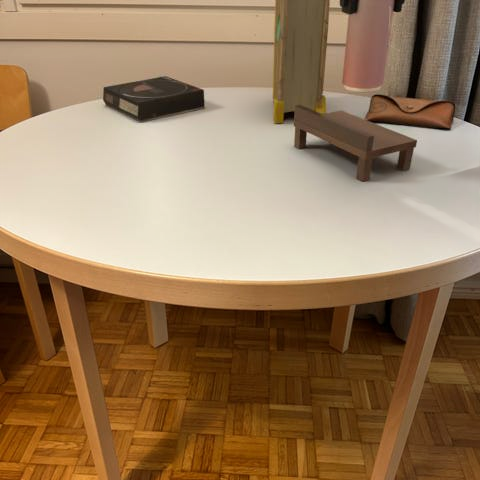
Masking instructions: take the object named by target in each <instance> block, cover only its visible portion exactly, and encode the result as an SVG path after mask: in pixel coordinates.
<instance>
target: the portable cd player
mask: <svg viewBox="0 0 480 480" xmlns="http://www.w3.org/2000/svg"><path fill="white" fill-rule="evenodd" d="M102 101H103V102H104V104H105V106H107V107H109V108H111V109H112V110H115V111H117V112H119V113H120V114H123V115H125V116H127V117H129V118H131V119H133V120H135V121H137V122H138V123H145V122H149V120H150V121H154V120H158V119H159V120H160V119H163V118H168V117H172V116H177V115H181V114H185V113H186V114H187V113H190V112H195V111H199V110H203V109H206V107H205V106H206V105H205V104H206V103H205V90H204V88H200V87H197V86H195V85H192V84H188V83H186V82H183V81H180V80H178V79H175V78H172V77H170V76H166V75H164V76H158V77H154V78H153V77H152V78H147V79H142V80H136V81H131V82H125V83H119V84H114V85H113V84H112V85H108V86H103V94H102Z"/></svg>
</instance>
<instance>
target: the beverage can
mask: <svg viewBox="0 0 480 480" xmlns="http://www.w3.org/2000/svg"><path fill="white" fill-rule="evenodd" d="M394 4H395V0H356V3H355V12H354V13H353V14H351V15H348V17H347V28H346V39H345V50H344V59H343V70H342V78H341V79H342V80H341V84H342V85H343V88H344V90H347V91H349V92H354V93H373V92H377V91H379V90H380V89H381V88H382V87H383V85H384V82H385V76H386V75H385V74H386V66H387V61H388V54H389V53H388V52H389V46H390V38H391V31H392V24H393V18H394Z"/></svg>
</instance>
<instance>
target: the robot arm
mask: <svg viewBox="0 0 480 480" xmlns="http://www.w3.org/2000/svg"><path fill="white" fill-rule="evenodd" d="M405 2H406V0H395V4H394V11H393V13H401V12H402V8H403V5H404V4H405ZM355 3H356V0H339V6H340V7H341V13H344V14H345V15H348V16H349V15H351V14H353V13H354V12H355Z"/></svg>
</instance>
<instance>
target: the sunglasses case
mask: <svg viewBox="0 0 480 480" xmlns="http://www.w3.org/2000/svg"><path fill="white" fill-rule="evenodd" d="M455 112H456V104H455V102H453V101H450V100H432V99H423V98H412V97H400V96H390V95H387V94H379V93H376V94H373V95H372V96H371V97H370V101H369V106H368V111H367V113H366V115H365V117H364V118H363V119H364V120H367V121H370V122H378V123H387V124H394V125H403V126H409V127H417V128H427V129H452V126H453V123H454V117H455Z"/></svg>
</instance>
